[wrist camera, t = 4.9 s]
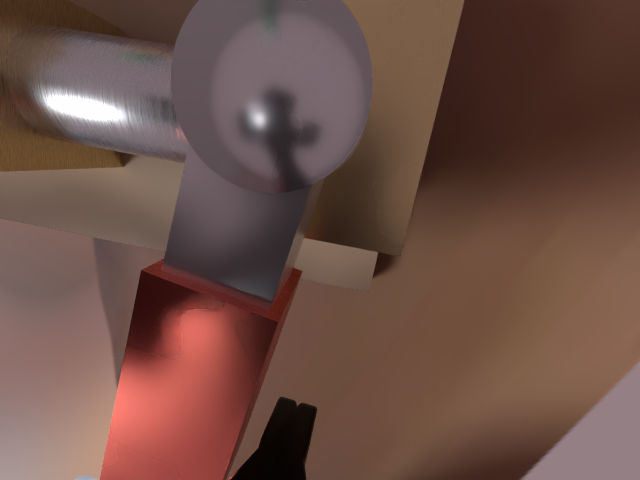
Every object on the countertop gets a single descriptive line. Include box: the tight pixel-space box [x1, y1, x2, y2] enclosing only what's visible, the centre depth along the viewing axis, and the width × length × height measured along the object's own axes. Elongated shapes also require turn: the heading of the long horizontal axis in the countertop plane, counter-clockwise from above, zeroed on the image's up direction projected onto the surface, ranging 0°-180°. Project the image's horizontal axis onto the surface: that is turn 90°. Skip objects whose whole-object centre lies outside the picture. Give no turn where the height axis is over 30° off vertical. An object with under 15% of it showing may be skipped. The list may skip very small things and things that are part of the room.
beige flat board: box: [0, 0, 378, 293], centre depth 14 cm, size 13×22×2 cm, turn 81°
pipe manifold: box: [0, 0, 464, 256], centre depth 9 cm, size 6×23×10 cm, turn 81°
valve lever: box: [100, 0, 373, 480], centre depth 6 cm, size 9×3×2 cm, turn 161°
